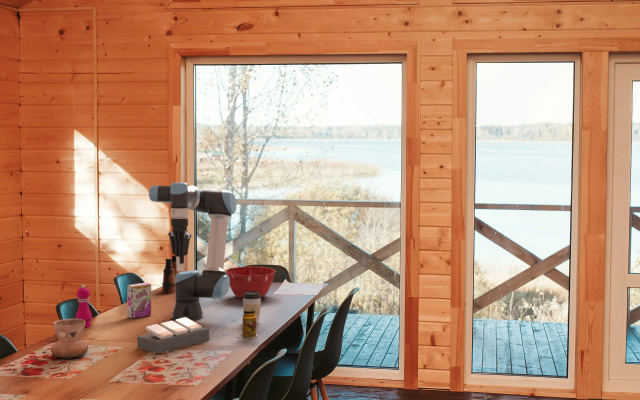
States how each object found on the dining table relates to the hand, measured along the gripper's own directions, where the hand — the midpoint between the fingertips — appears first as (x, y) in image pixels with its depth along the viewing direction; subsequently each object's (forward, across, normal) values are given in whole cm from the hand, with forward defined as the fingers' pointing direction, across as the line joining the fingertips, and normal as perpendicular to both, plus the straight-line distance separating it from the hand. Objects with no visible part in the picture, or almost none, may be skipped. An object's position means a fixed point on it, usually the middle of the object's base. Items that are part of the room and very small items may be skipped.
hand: (180, 270), depth 322 cm
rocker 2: (+24, +5, -8) cm, 26 cm away
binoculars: (+31, -87, +67) cm, 114 cm away
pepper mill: (+31, -52, -15) cm, 62 cm away
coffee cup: (+31, +4, +41) cm, 51 cm away
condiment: (+31, +20, +22) cm, 43 cm away
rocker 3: (+24, +5, 0) cm, 25 cm away
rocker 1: (+24, +5, -16) cm, 29 cm away
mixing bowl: (+31, -38, +83) cm, 96 cm away
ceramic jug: (+31, -14, -46) cm, 57 cm away
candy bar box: (+31, -48, +14) cm, 59 cm away
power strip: (+30, +5, -7) cm, 31 cm away
